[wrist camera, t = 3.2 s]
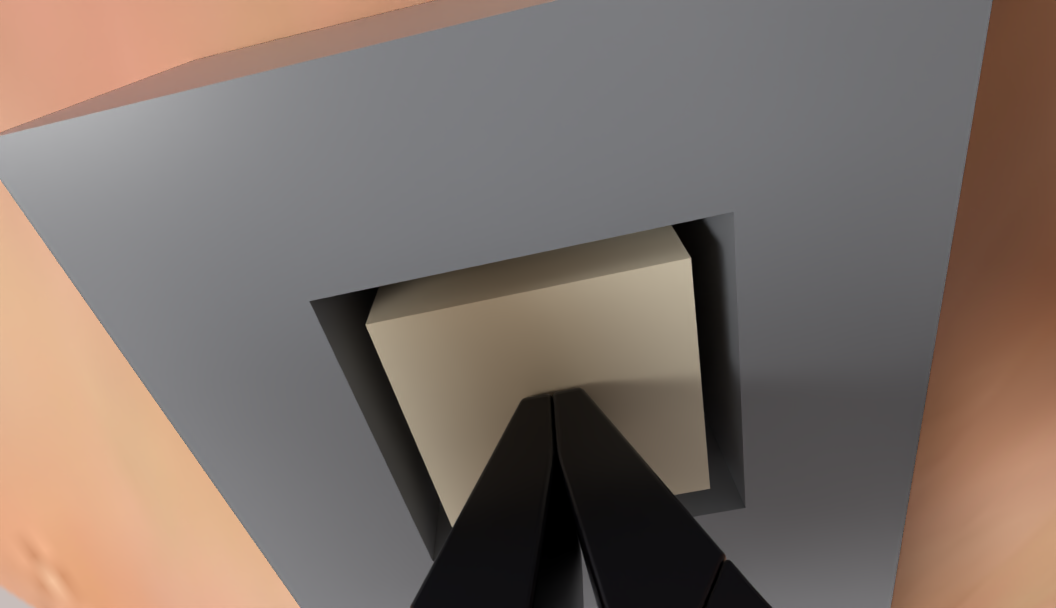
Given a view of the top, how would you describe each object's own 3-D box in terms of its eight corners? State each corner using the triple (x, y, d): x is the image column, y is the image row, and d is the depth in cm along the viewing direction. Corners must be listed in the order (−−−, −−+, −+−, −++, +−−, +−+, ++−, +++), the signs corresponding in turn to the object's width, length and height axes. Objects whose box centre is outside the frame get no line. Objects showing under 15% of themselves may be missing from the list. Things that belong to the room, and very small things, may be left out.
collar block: (781, -87, 10) (1011, -111, 5) (779, 656, 21) (851, 841, 16) (193, 60, 10) (-27, 142, 6) (497, 699, 21) (496, 886, 17)
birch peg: (621, 142, 11) (690, 257, 7) (645, 318, 13) (710, 488, 9) (414, 188, 11) (364, 325, 7) (469, 353, 14) (454, 533, 9)
